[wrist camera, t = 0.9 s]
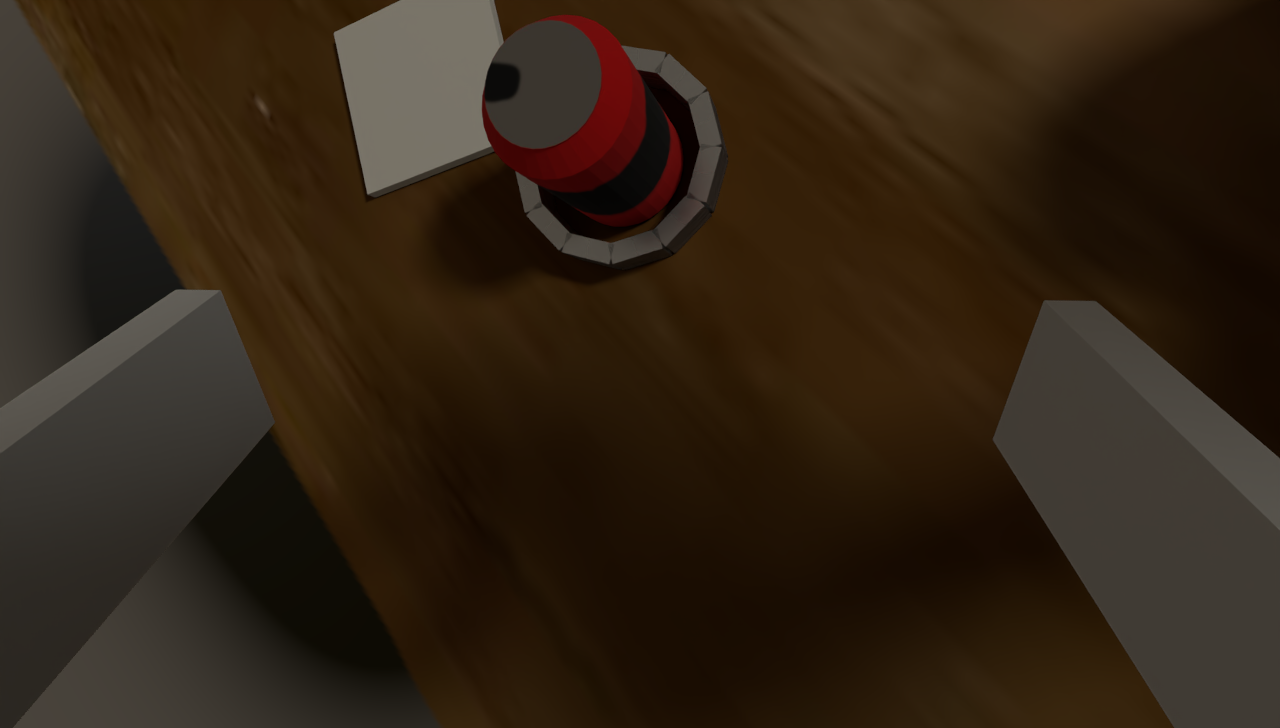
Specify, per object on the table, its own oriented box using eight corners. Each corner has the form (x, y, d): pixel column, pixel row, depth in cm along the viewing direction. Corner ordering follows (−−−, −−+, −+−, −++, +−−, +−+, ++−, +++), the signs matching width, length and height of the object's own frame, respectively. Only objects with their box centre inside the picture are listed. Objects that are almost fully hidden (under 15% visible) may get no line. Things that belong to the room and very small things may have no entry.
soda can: (577, 104, 41) (477, -1, 29) (693, 107, 38) (634, -4, 27) (561, 223, 41) (455, 165, 29) (675, 233, 39) (609, 176, 27)
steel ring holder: (697, 35, 38) (688, 13, 36) (747, 232, 37) (742, 223, 35) (515, 108, 42) (497, 93, 40) (558, 291, 41) (541, 286, 39)
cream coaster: (486, -31, 43) (480, -39, 42) (525, 139, 42) (520, 134, 41) (342, 38, 46) (333, 32, 45) (375, 197, 45) (367, 194, 44)
